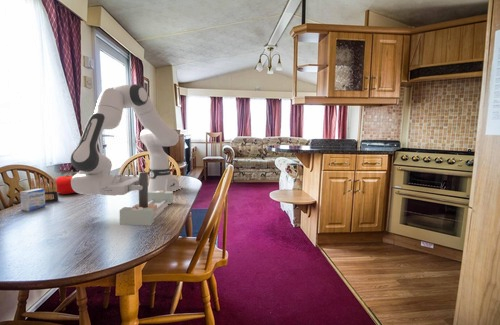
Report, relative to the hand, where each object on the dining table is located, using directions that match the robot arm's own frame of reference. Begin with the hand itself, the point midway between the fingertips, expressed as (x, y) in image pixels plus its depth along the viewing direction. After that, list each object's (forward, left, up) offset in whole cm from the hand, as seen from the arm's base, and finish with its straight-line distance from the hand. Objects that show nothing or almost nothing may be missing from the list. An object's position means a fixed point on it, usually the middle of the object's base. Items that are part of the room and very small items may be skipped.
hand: (145, 186), depth 112 cm
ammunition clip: (+12, -60, -14) cm, 62 cm away
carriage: (0, -1, -11) cm, 11 cm away
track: (-6, -5, -14) cm, 16 cm away
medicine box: (+20, -52, -14) cm, 57 cm away
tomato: (-4, -70, -14) cm, 71 cm away
